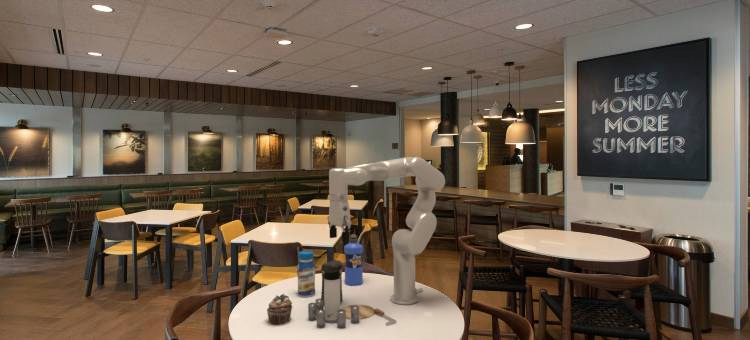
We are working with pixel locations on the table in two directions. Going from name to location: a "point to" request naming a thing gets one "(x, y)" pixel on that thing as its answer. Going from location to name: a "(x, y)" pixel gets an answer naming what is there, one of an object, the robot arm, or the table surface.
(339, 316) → the spacer field
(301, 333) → the table surface
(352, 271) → the water bottle
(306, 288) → the beverage bottle
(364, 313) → the round wooden board
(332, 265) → the coffee jar
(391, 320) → the hook tool
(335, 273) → the travel mug
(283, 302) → the cupcake
